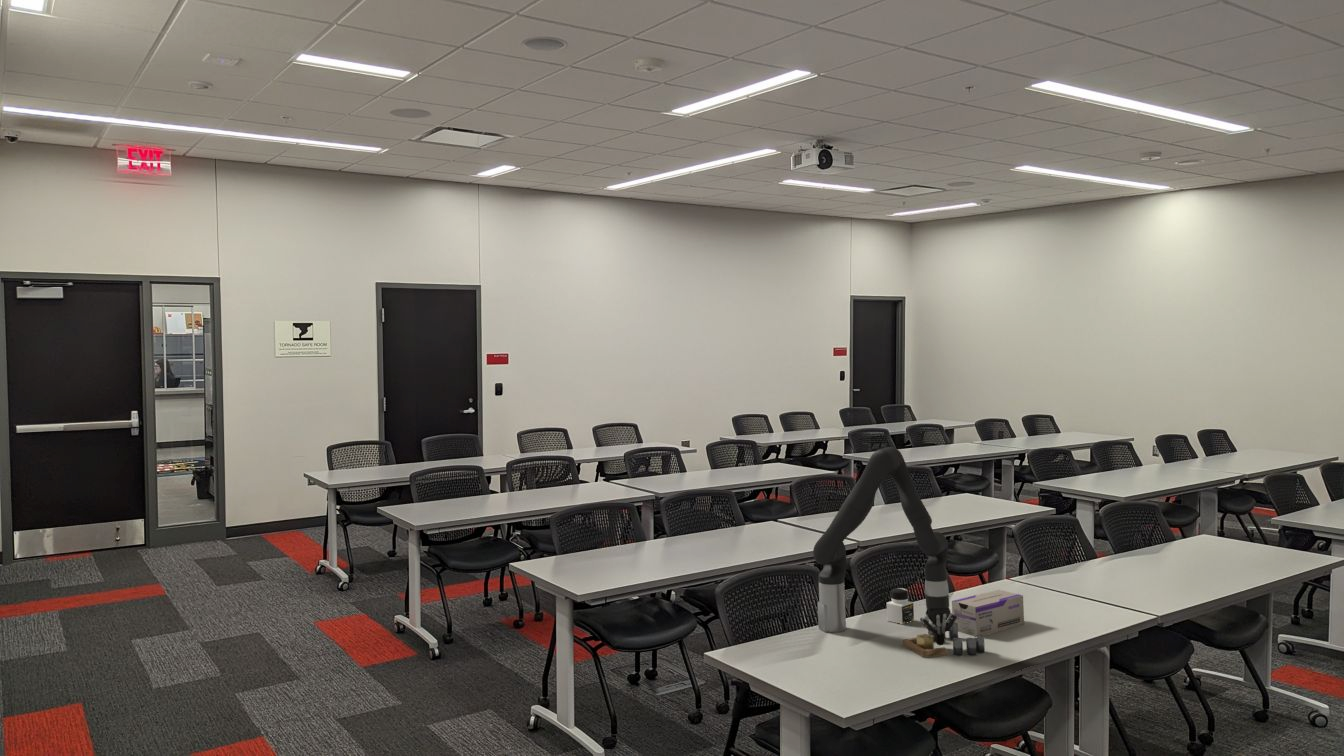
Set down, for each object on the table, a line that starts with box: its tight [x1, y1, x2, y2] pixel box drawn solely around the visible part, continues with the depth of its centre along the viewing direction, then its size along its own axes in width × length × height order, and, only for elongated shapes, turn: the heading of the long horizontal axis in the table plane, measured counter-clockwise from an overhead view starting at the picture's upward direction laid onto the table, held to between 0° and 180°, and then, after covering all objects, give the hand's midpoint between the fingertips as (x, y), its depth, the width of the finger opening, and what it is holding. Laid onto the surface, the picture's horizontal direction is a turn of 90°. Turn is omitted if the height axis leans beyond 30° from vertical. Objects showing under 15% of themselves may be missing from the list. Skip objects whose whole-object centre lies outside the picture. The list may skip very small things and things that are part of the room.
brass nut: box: [915, 633, 935, 650], centre depth 294 cm, size 6×5×4 cm
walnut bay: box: [901, 637, 948, 659], centre depth 295 cm, size 8×14×2 cm, turn 13°
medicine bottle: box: [886, 587, 915, 625], centre depth 329 cm, size 7×7×12 cm
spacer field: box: [927, 623, 986, 657], centre depth 297 cm, size 11×22×5 cm, turn 13°
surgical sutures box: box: [951, 589, 1025, 637], centre depth 317 cm, size 25×11×11 cm, turn 121°
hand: (940, 644), depth 296 cm, fingers closed
